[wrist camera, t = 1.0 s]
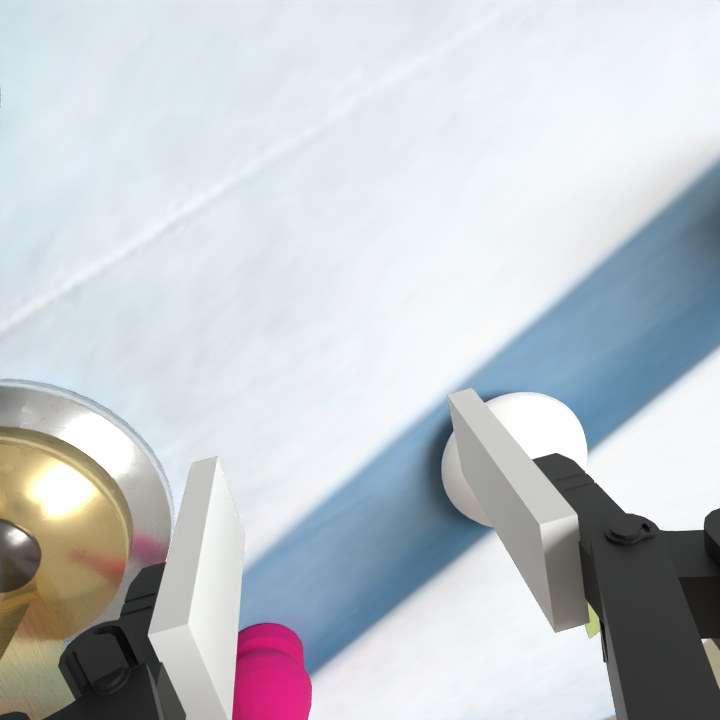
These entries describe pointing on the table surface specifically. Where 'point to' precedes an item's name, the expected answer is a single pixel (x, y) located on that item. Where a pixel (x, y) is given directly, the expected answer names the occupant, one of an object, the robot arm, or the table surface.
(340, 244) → the table surface
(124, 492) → the silver round plate
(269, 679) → the pepper mill
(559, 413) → the flower in vase
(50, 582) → the gold twin-plate stand
